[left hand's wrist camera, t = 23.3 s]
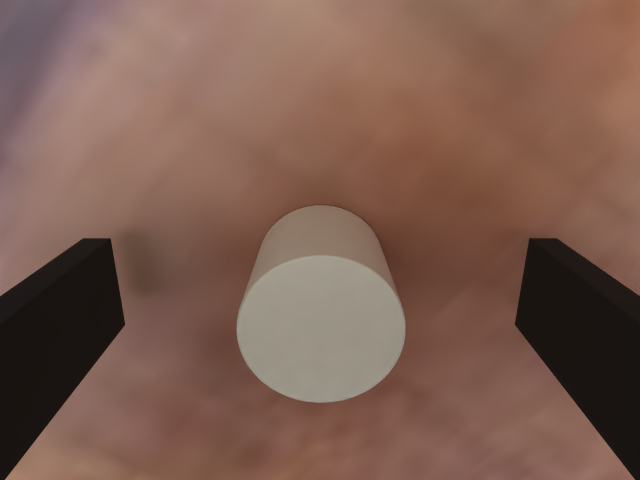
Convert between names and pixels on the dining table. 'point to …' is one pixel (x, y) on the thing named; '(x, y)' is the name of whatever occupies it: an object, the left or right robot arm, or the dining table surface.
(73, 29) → the dining table surface
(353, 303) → the cylinder
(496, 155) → the dining table surface
